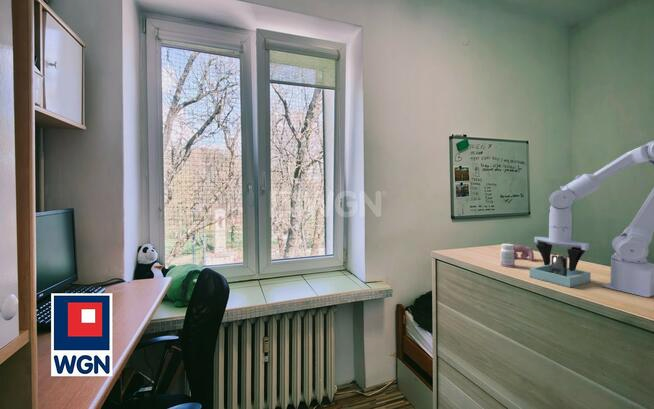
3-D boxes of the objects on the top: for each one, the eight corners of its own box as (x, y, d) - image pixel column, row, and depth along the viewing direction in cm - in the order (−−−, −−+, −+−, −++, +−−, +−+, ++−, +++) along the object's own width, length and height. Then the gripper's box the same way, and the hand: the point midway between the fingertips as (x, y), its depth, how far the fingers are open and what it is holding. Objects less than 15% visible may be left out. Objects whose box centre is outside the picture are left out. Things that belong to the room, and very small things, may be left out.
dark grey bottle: (569, 278, 92) (570, 255, 91) (562, 280, 90) (563, 257, 90) (555, 274, 95) (556, 253, 95) (548, 276, 94) (549, 254, 93)
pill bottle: (516, 267, 107) (517, 245, 106) (503, 267, 108) (503, 245, 107) (511, 264, 112) (511, 243, 111) (498, 263, 113) (498, 243, 112)
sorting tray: (590, 281, 90) (590, 272, 90) (569, 287, 85) (570, 278, 85) (549, 272, 100) (549, 263, 100) (529, 277, 96) (529, 268, 96)
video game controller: (533, 263, 117) (532, 247, 119) (534, 261, 113) (533, 244, 116) (505, 260, 122) (505, 245, 124) (505, 258, 119) (505, 242, 121)
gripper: (594, 228, 87) (593, 271, 88) (543, 223, 100) (542, 260, 101) (582, 230, 84) (581, 274, 85) (530, 225, 97) (530, 263, 98)
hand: (559, 267), depth 93 cm, fingers open, 7 cm apart
